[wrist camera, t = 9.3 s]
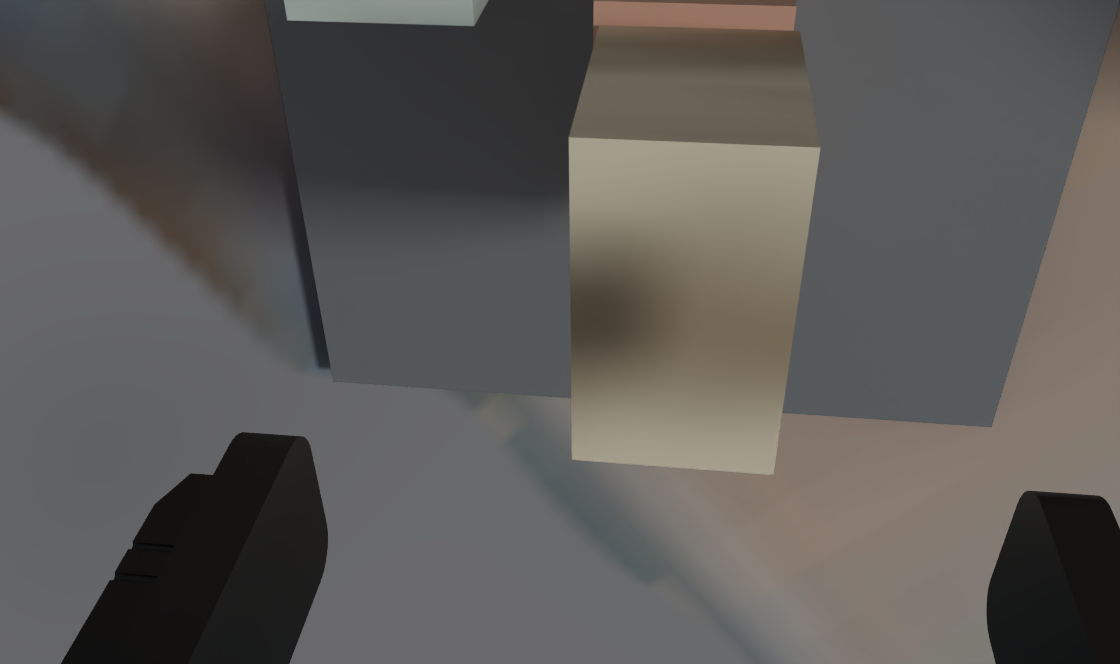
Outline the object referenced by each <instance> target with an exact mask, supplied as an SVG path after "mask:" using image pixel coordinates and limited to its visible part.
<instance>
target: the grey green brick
mask: <svg viewBox="0 0 1120 664" xmlns="http://www.w3.org/2000/svg"><path fill="white" fill-rule="evenodd" d="M487 2H488V0H284V4H285V10H286V16H287V20H290V21H323V22H356V23H389V24H422V25H455V26H474V25H475V24H476V22H477V20H478V18H479V16H480V15H481V13H482V11H483V9H484V7H485V6H486V4H487Z"/></svg>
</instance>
